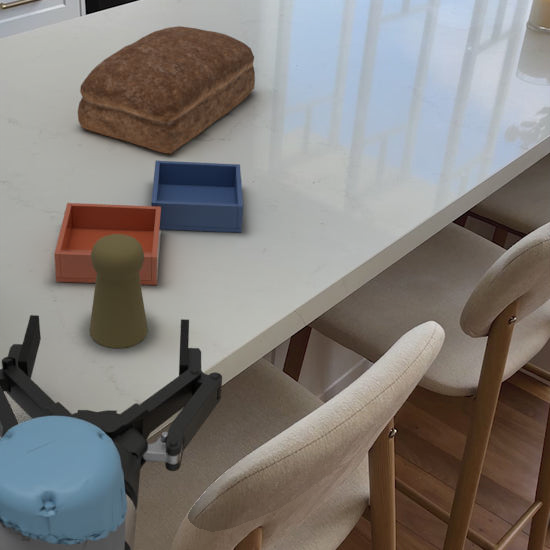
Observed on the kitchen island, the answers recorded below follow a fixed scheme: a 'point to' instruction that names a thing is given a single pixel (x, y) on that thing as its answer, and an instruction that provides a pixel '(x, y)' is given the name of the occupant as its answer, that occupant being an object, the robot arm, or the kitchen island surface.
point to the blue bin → (198, 196)
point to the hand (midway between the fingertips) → (110, 328)
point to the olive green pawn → (118, 292)
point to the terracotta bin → (96, 224)
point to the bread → (166, 87)
